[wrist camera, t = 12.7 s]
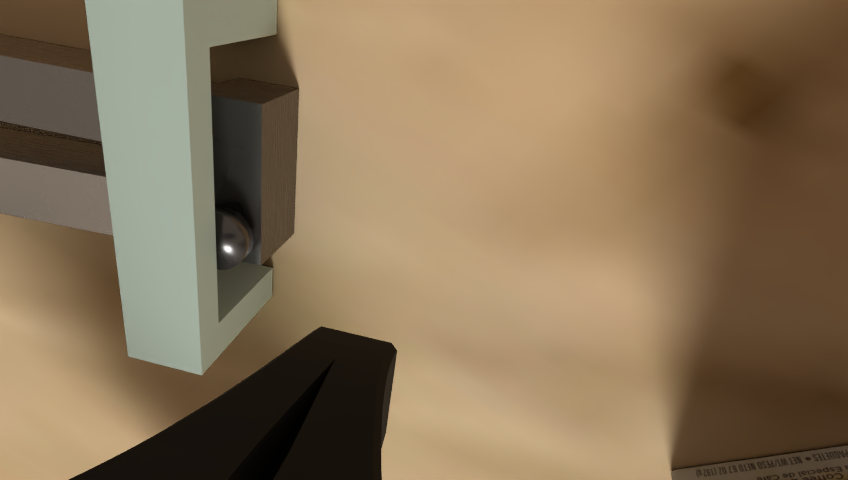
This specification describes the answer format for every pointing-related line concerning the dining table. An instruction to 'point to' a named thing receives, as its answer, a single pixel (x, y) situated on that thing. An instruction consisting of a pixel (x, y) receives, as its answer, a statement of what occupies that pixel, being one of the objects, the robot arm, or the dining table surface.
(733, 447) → the dining table surface
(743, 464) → the coffee box
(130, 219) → the pale green notched block
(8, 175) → the tong arm
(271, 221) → the tong base
